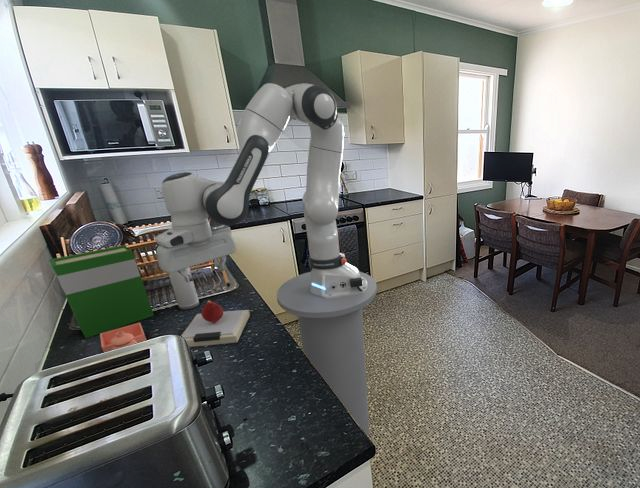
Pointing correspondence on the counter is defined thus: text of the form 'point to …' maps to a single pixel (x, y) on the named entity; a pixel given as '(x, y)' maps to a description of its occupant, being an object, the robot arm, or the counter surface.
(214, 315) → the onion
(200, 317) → the scale
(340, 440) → the counter surface
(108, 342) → the red box
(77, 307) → the green box
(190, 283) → the travel mug
